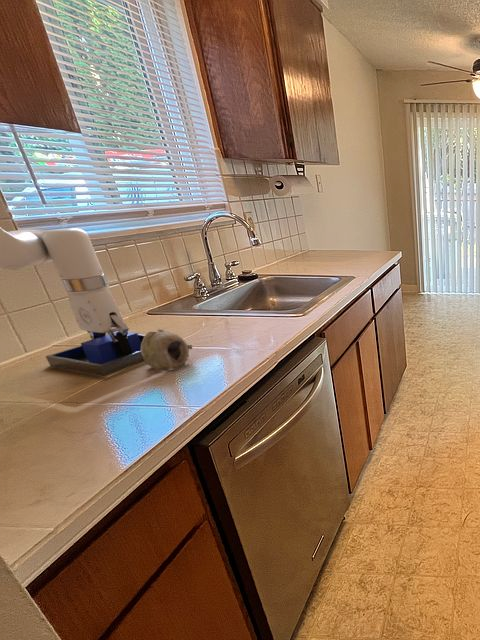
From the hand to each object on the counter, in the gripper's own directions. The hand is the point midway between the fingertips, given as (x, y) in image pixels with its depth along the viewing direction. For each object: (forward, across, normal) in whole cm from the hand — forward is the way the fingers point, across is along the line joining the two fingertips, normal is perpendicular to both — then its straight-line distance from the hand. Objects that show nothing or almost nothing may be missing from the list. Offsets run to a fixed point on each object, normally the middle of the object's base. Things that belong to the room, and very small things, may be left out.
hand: (116, 353), depth 101 cm
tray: (+2, 0, 0) cm, 2 cm away
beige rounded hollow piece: (+2, +18, +1) cm, 18 cm away
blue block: (+1, 0, 0) cm, 1 cm away
